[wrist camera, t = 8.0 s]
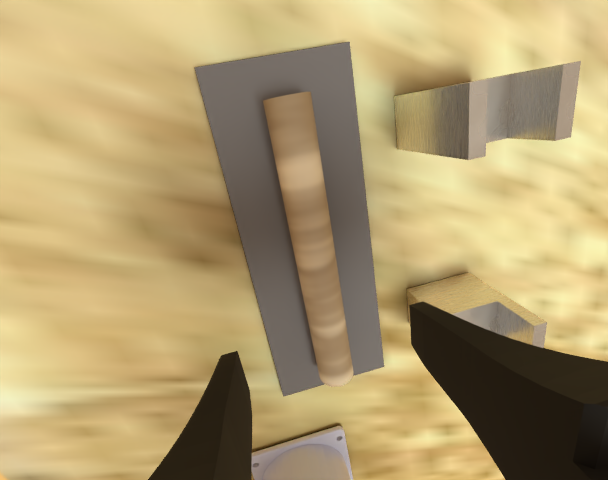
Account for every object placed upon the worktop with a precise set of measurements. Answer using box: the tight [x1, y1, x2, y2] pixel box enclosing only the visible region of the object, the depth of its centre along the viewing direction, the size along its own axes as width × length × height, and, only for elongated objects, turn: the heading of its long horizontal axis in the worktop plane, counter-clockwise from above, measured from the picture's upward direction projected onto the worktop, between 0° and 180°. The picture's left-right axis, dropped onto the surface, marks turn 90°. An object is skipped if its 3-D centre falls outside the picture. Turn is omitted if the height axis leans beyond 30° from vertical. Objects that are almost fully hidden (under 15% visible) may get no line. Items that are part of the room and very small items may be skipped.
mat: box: [195, 42, 384, 396], centre depth 20 cm, size 22×8×1 cm, turn 10°
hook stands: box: [394, 61, 581, 348], centre depth 19 cm, size 16×5×6 cm, turn 10°
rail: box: [263, 92, 353, 387], centre depth 19 cm, size 18×2×2 cm, turn 10°
